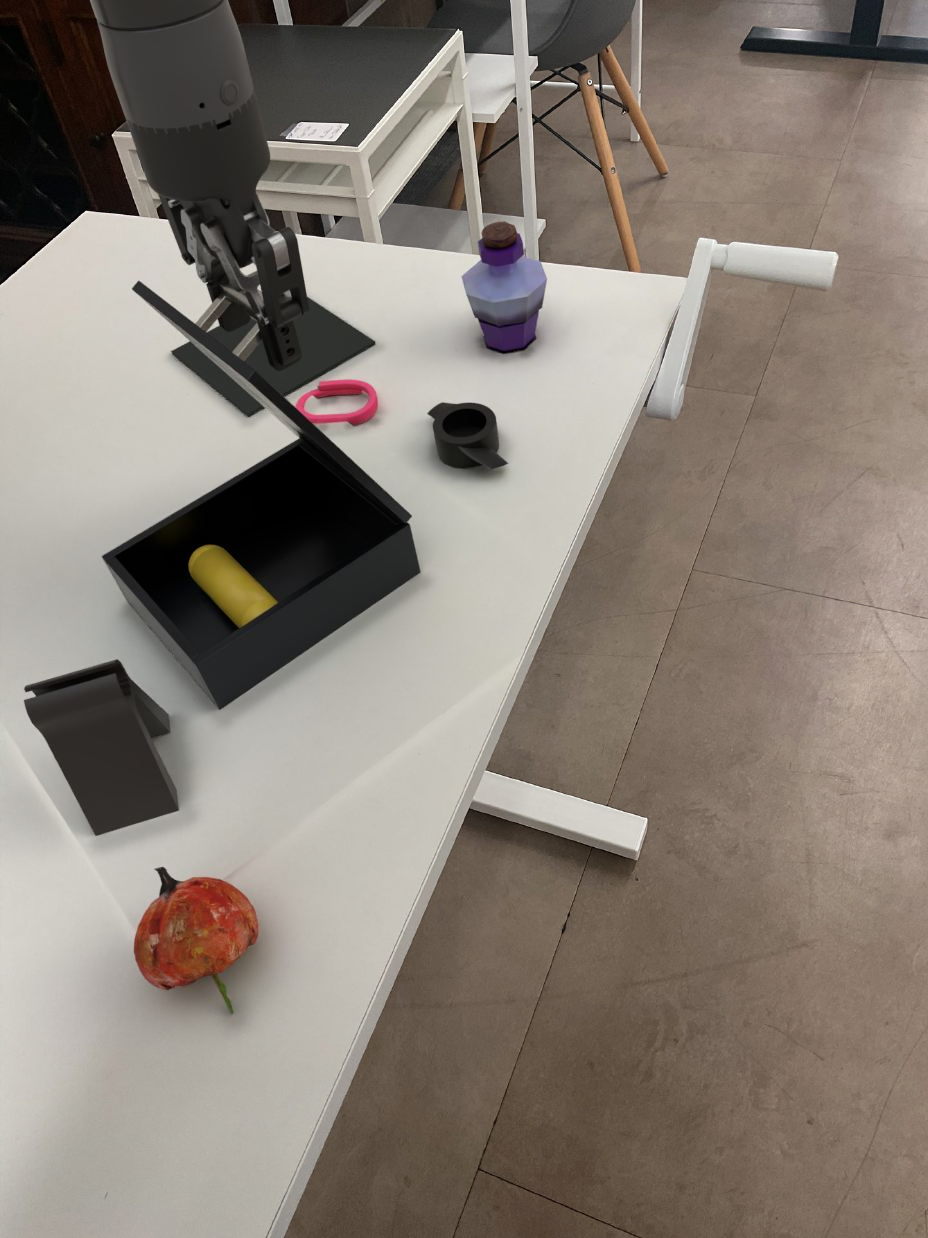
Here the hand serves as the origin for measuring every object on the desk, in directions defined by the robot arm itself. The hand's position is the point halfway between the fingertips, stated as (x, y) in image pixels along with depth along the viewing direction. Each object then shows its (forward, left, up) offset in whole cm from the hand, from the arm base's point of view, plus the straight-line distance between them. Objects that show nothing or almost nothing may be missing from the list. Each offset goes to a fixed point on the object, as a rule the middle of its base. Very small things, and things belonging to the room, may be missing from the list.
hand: (261, 343), depth 70 cm
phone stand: (-23, -8, -22) cm, 33 cm away
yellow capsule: (-9, 0, -21) cm, 23 cm away
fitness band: (+12, +16, -22) cm, 30 cm away
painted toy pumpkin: (-26, -24, -22) cm, 41 cm away
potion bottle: (+31, +12, -22) cm, 40 cm away
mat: (+13, +30, -22) cm, 39 cm away
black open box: (-6, 0, -22) cm, 22 cm away
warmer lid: (-1, 0, -6) cm, 6 cm away
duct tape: (+17, +2, -22) cm, 28 cm away
